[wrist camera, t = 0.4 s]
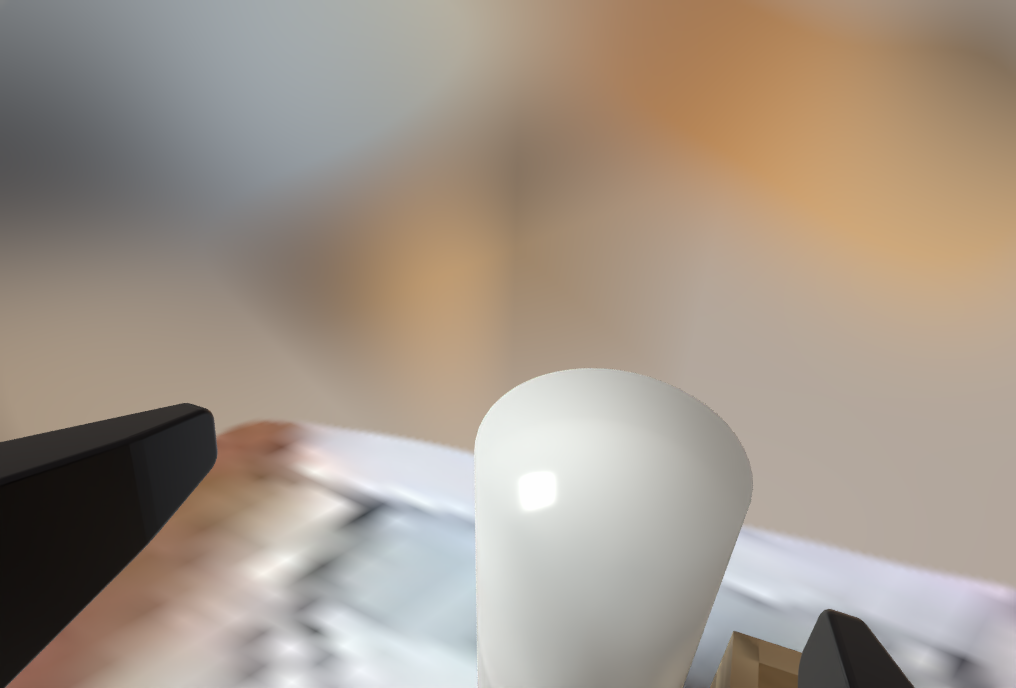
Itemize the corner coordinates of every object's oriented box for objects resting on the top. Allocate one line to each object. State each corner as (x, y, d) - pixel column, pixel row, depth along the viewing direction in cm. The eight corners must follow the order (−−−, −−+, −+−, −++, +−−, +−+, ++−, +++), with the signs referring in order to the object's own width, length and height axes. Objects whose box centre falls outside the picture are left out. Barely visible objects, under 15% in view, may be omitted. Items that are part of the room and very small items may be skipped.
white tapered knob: (638, 869, 18) (746, 613, 11) (449, 785, 20) (427, 512, 12) (667, 673, 23) (757, 400, 15) (512, 619, 24) (525, 348, 17)
